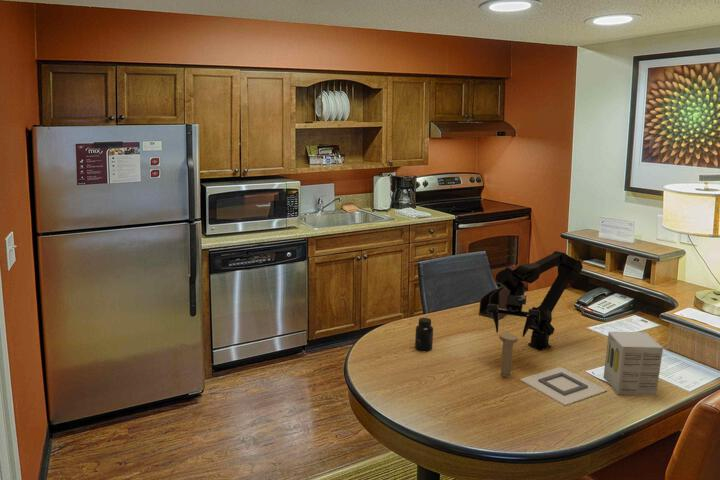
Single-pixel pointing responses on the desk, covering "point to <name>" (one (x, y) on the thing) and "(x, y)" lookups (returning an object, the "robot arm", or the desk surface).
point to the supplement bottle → (424, 335)
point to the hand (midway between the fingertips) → (509, 334)
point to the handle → (507, 353)
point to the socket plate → (563, 385)
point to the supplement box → (633, 363)
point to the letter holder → (493, 301)
